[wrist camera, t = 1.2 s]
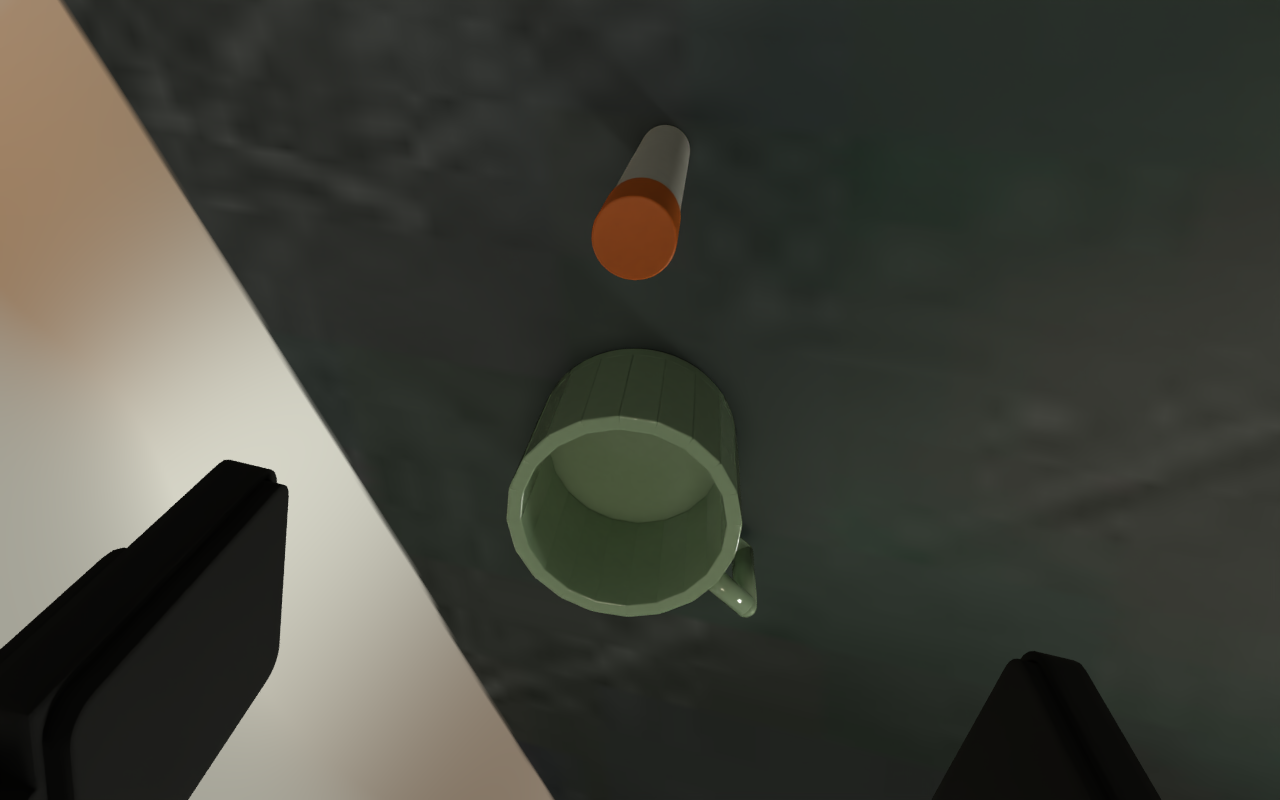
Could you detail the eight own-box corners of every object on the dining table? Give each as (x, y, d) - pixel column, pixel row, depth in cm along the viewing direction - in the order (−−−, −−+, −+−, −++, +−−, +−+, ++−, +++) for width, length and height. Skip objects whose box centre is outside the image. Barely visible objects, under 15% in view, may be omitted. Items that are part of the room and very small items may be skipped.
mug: (500, 437, 39) (460, 518, 33) (634, 307, 36) (617, 369, 30) (682, 589, 42) (676, 690, 36) (820, 481, 39) (840, 571, 33)
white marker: (645, 117, 33) (601, 185, 20) (697, 130, 33) (687, 207, 20) (633, 170, 34) (583, 268, 21) (683, 183, 34) (665, 289, 21)
